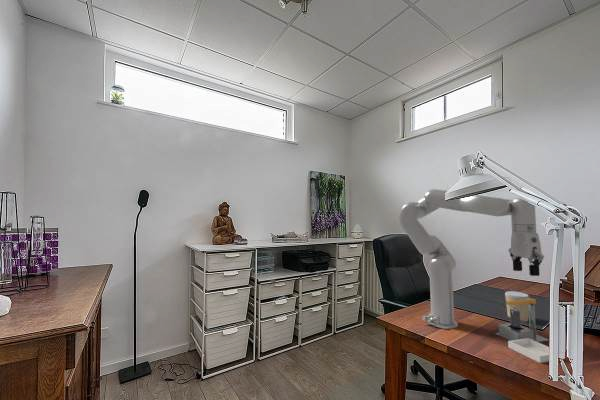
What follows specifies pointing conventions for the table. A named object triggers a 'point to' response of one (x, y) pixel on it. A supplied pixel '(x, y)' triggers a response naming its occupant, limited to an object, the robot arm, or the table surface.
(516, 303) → the yellow curved piece
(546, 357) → the tray
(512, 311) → the pin
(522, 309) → the coffee cup
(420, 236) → the robot arm
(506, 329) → the hitch
